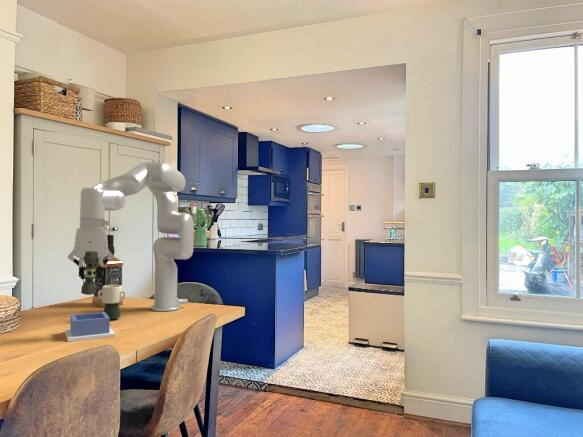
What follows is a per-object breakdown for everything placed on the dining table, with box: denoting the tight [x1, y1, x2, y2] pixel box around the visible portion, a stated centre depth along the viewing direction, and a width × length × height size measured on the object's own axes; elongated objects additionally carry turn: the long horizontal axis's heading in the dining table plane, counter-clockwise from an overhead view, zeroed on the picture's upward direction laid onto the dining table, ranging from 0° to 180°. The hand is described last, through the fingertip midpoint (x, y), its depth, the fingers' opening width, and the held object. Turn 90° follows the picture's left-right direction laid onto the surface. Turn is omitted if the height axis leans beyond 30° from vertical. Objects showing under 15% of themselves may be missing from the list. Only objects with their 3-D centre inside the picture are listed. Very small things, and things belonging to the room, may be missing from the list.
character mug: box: [98, 285, 127, 320], centre depth 171 cm, size 11×7×13 cm, turn 89°
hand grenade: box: [80, 241, 98, 296], centre depth 148 cm, size 6×5×18 cm
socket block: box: [64, 311, 116, 342], centre depth 148 cm, size 14×14×6 cm
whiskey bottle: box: [91, 234, 124, 308], centre depth 201 cm, size 10×10×32 cm
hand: (90, 278), depth 148 cm, fingers closed on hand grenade, 4 cm apart
